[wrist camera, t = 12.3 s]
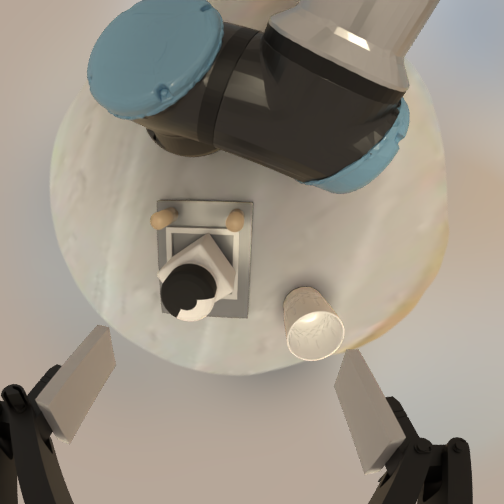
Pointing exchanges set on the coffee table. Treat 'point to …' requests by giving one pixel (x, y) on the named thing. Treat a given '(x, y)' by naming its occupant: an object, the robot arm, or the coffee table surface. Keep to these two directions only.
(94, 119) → the coffee table surface
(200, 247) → the medicine bottle
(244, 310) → the peg board
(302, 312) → the white cup
